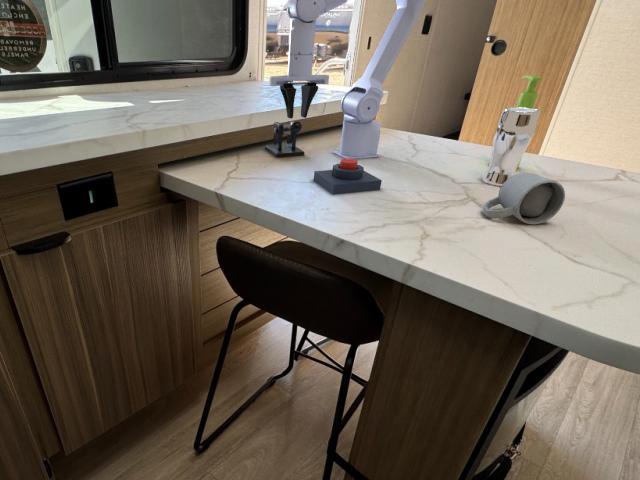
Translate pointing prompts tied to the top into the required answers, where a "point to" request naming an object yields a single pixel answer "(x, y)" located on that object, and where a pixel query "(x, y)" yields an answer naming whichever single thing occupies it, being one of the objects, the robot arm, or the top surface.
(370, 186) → the control block
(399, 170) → the top surface
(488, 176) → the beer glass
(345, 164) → the button
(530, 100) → the soap dispenser
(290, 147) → the switch bracket
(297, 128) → the switch lever
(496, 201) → the ceramic mug
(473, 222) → the top surface
